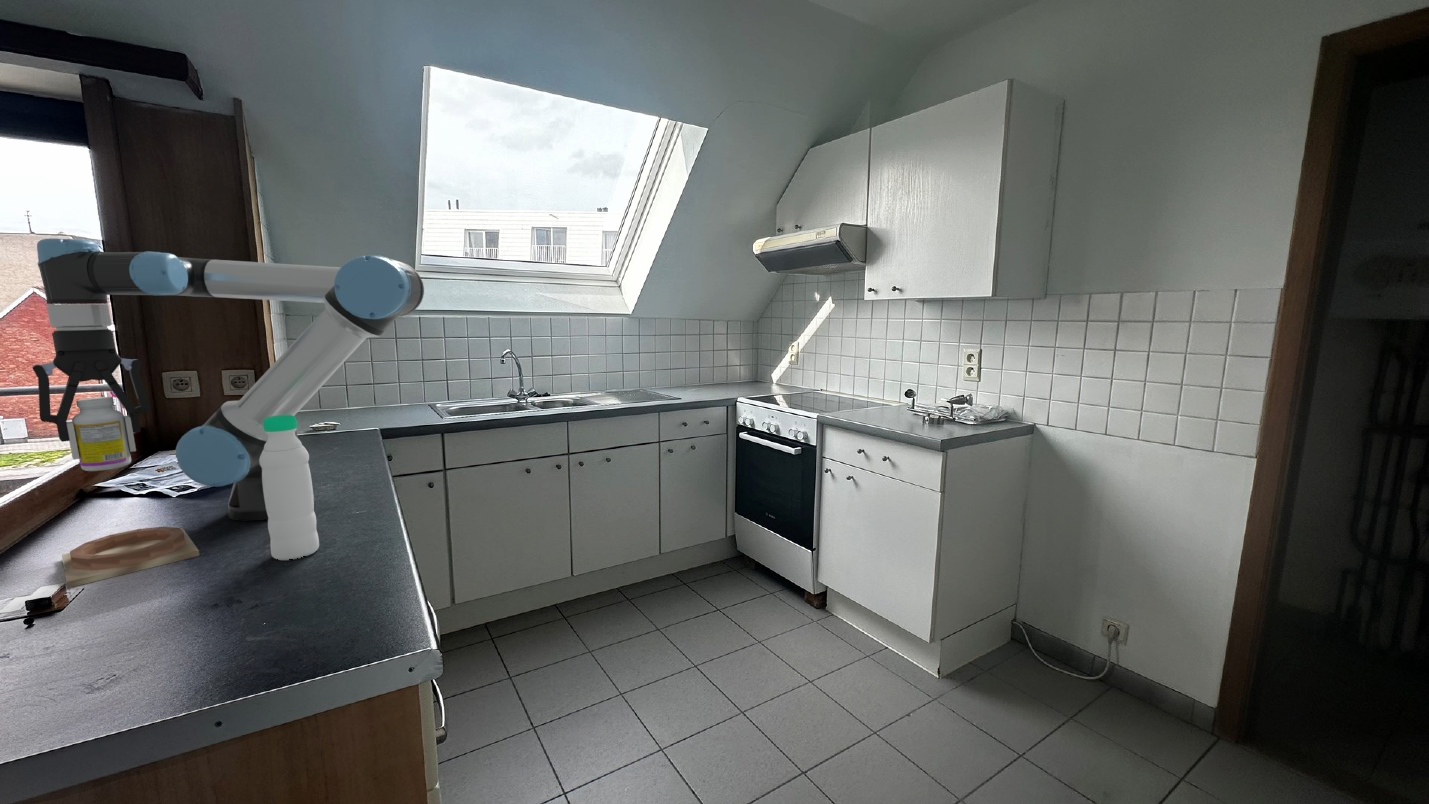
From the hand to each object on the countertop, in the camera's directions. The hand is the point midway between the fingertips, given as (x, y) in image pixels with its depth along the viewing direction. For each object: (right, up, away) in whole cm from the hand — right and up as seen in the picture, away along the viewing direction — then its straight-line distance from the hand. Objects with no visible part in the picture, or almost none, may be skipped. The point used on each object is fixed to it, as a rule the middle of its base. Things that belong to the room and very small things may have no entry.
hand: (104, 453), depth 110 cm
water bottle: (+38, -18, -3) cm, 42 cm away
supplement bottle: (0, -3, 0) cm, 3 cm away
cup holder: (+10, -18, -5) cm, 21 cm away
